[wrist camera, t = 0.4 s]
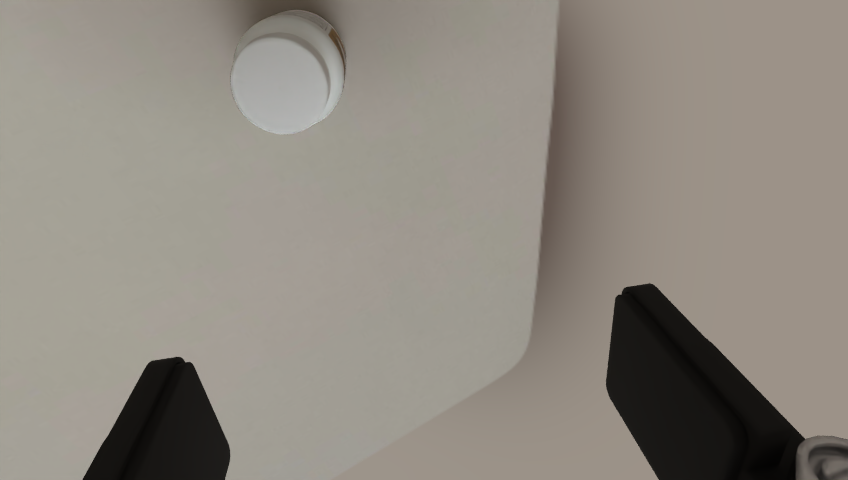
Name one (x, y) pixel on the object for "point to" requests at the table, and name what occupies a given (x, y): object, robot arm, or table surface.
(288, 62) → the pill bottle
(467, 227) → the table surface
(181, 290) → the table surface
